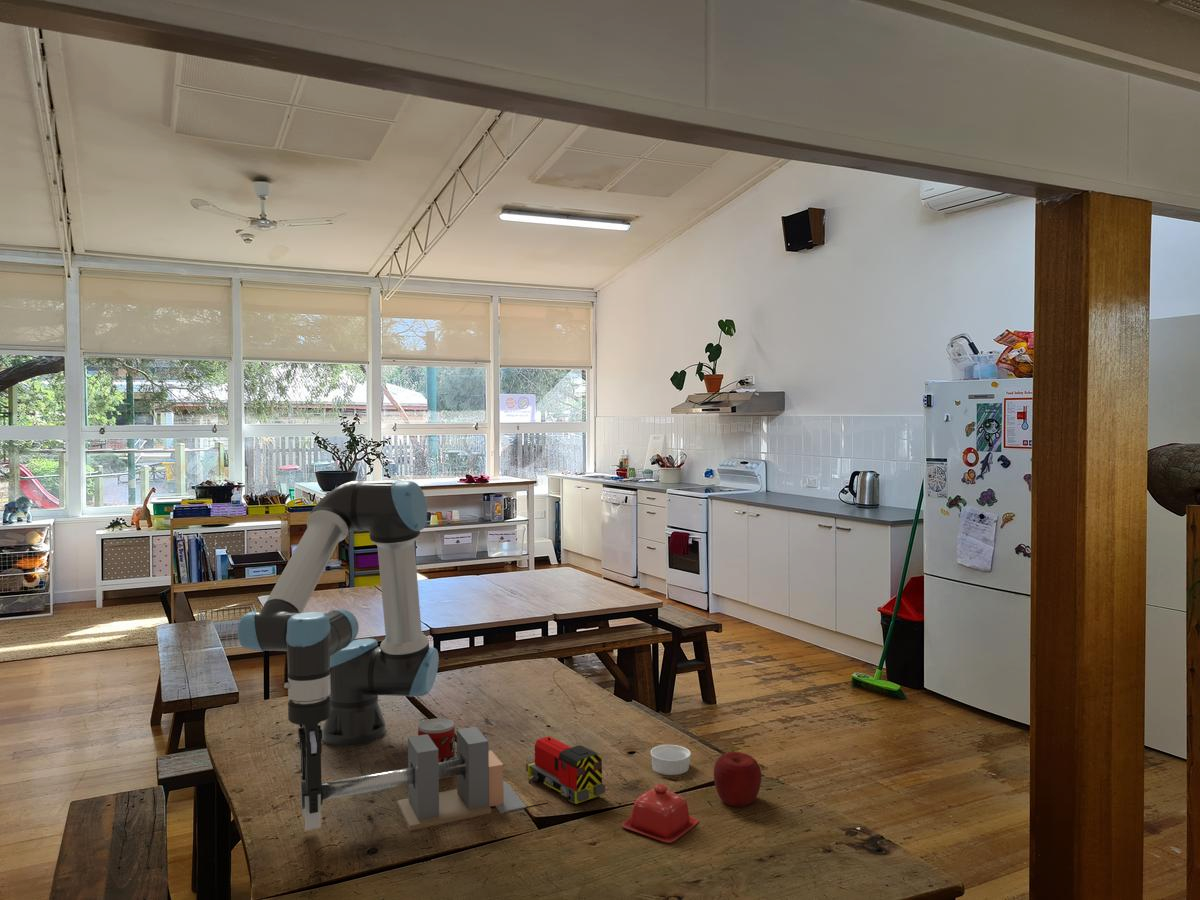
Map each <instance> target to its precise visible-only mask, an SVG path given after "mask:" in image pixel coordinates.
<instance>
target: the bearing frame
mask: <svg viewBox="0 0 1200 900" xmlns="http://www.w3.org/2000/svg"><path fill="white" fill-rule="evenodd" d="M489 751H490V750H489V740H488V739H487V737H485V735H484V734H483V733H482V732H481V730H480V729H479V728H478V727H476V726H470V727H464V728H458V729H456V759H462V758H464V759H465V764H466V774H462V775H457V776H456V778H457V779H456V780H457V781H456V785H457V787H456V788H454V789H449V790H444V791H440V786H439V784H440V783H439V782H440V779H439V762H438V748H437V747H436V745H435V744H434V743H433V741H432V740H431V738H430V737H429V735H428V734H425V735H419V736H418V735H414V736H408V737H407V768H411V767H414V768H415V783H413V784H408V787H407V788H408V792H407V793H408V798H407V797H406V798H403V799H402V798H401V799H397V801H396V806H397V808H398V809H399V812H400V814H401V816H402V818H403V821H404V822H405V824H406V826H407V828H408V830H409V832H410V831H415V830H419V829H423V828H428V827H434V826H438V825H443V824H448V823H452V822H456V821H457V822H458V821H461V820H466V819H470V818H475V817H479V816H486V815H488V814H492V808H491V807H489Z"/></svg>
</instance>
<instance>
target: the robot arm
mask: <svg viewBox="0 0 1200 900" xmlns="http://www.w3.org/2000/svg"><path fill="white" fill-rule="evenodd" d="M419 485H420V484H417V483H416V482H414V481H410V480H400V479H391V480H389V479H387V480H384V479H383V480H359V479H358V480H351V481H348V482H345V483H343V484H341V485H339V486H337V487H335V488H334V489H331V491H329V492H328V493H327V494H326V495H325V496H323V497H322V498H321V499H320V500H319V501H318V502H317V503H316V504H315V505H314V507H313V508H312V510H311V512H310V513H309V515H308V516H307V519H306V527H307V528H306V530H305V531H304V533H303V535H302V537H301V538H300V540H299V542H298V544H297V546H296V548H295V549H294V551H293V553H292V554H291V557H290V559H289V560H288V562H287V563H286V566H285V567H284V569H283V571H282V572H281V574H280V576H279V578H278V580H277V581H276V584H275V585H274V587H273V588H272V590H271V592H270V594H269V596H268V597H267V599H266V601H265V603H264V605H263V606H262V608H261V610H260V611H259V610H258V611H257V610H254V611H249V612H246V614H243V615H242V616H241V619H240V620H239V622H238V627H237V638H238V639H237V640H238V641H239V645H240V646H241V647H242V648H244V649H245V650H251V651H260V652H266V651H268V652H273V651H275V652H286V656H287V657H286V659H287V681H288V682H285V683H284V684H283V685H284V686H283V687H284V688H285V689H287V695H288V696H287V698H288V699H289V701H288V702H287V710H288V711H287V713H288V714H287V716H288V717H287V718H288V721H289V722H290V723H292V724H294V725H298V726H299V727H298V728H297V734H298V738H299V740H298V743H299V744H298V745H299V750H300V769H299V770H300V773H301V780H302V781H306V791H305V792H304V793H302V797H304V796H305V809H302V808H301V810H302V812H301V813H302V818H303V819H305V820H304V821H305V822H304V823H305V825H304V826H305V827H304V829H305V831H311V830H316V829H320V828H322V807H321V794H322V787H321V782H322V752H323V751H322V749H323V748H322V746H323V743H322V742H324V743H325V744H328V745H330V746H335V747H354V746H359V745H360V746H361V745H365V744H368V743H369V744H370V743H373V742H375V741H377V740H379V739H381V738H382V737H383V736H385V734H386V732H387V730H386V728H387V726H386V721H385V718H384V716H383V712H382V710H381V706H380V704H379V696H389V697H393V696H394V697H395V696H396V697H408V698H412V697H424V696H426V695H428V694H429V693H430V692H431V690H432V689H433V686H434V684H435V682H436V678H437V673H438V669H439V660H440V659H439V651H438V649H437V647H433V646H431V647H430V642H429V641H430V639H429V638H428V636H427V635H425V634H424V633H423V632H422V622H421V621H422V620H421V619H422V618H421V610H420V608H421V605H420V596H419V595H420V594H419V583H418V572H417V559H416V546H415V542H416V540H418V538H419V537H420V536H421V531H423V529H424V528H426V524H427V521H428V517H427V515H428V506H427V505H428V503H427V499H426V496H425V493H424V491H423V489H422V487H420V486H419ZM356 530H357V531H359V530H360V531H368V532H369V540H370V542H372V543H373V544H374V545H375V546H377V557H378V559H377V560H378V568H379V577H380V590H381V599H382V611H383V612H382V613H383V621H384V622H383V623H384V631H385V633H384V634H385V635H384V636H385V637H384V639H383V640H381V643H380V644H379V643H378V640H377V639H375V638H360V639H356V638H357V635H358V633H359V622H358V619H357V617H356V616H355V615H354V614H353V613H352V612H351V611H349V610H347V609H343V608H341V609H340V608H339V609H335V610H334V609H333V610H331V611H328V612H321V611H311V612H309V611H308V612H304V610H305V608H306V607H307V605H308V602H309V601H310V598H311V597H312V594H313V593H314V591H315V588H316V587H317V585H318V584H319V582H320V579H321V577H322V576H323V573H324V571H325V569H326V567H327V566H328V563H329V561H330V559H331V558H332V556H333V554H334V552H335V550H336V547H337V545H338V544H339V543H340V542H342V541H343V540H345V539H346V538H347V536H348V534H349V533H350V532H352V531H356ZM378 645H380V646H378ZM321 722H324V723H323V727H322V728H321V724H320V723H321Z"/></svg>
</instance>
